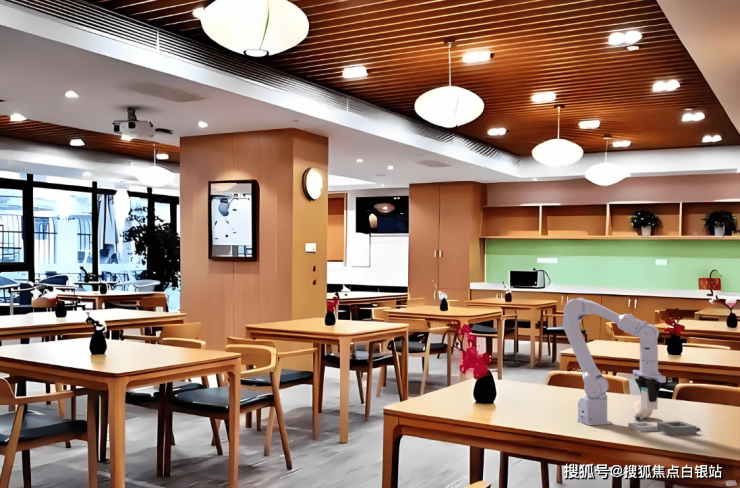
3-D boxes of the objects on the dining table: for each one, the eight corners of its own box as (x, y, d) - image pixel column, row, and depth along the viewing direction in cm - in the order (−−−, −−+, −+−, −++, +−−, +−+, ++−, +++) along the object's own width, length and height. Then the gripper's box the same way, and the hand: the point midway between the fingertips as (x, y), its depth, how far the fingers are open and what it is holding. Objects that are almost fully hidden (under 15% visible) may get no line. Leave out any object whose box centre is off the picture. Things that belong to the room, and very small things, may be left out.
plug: (647, 409, 230) (647, 388, 230) (641, 408, 233) (641, 387, 233) (657, 409, 231) (657, 388, 231) (651, 407, 234) (651, 386, 234)
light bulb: (644, 409, 241) (651, 396, 250) (626, 410, 245) (633, 397, 254) (650, 426, 242) (656, 412, 250) (631, 427, 245) (638, 413, 254)
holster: (640, 431, 228) (640, 427, 228) (628, 427, 234) (628, 422, 234) (658, 430, 230) (658, 426, 230) (645, 426, 236) (645, 421, 236)
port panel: (673, 435, 224) (673, 427, 224) (657, 429, 231) (657, 422, 231) (708, 433, 227) (708, 425, 227) (691, 427, 235) (691, 420, 235)
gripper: (673, 362, 226) (673, 404, 226) (644, 357, 240) (645, 396, 240) (655, 363, 224) (655, 405, 224) (627, 357, 238) (627, 396, 238)
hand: (649, 400), depth 232 cm, fingers closed on plug, 3 cm apart
